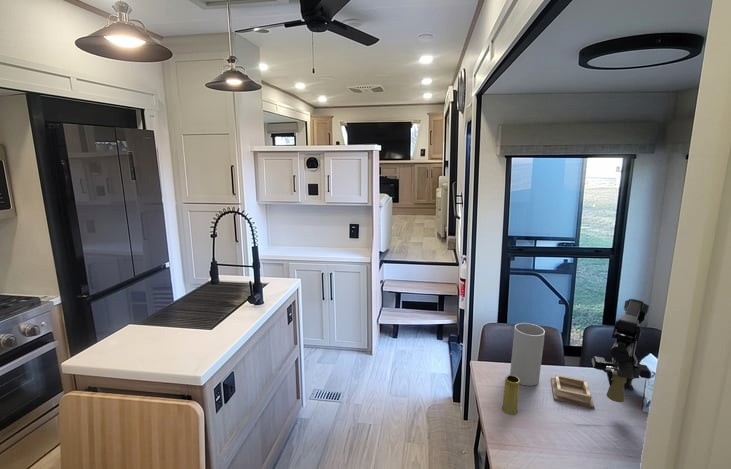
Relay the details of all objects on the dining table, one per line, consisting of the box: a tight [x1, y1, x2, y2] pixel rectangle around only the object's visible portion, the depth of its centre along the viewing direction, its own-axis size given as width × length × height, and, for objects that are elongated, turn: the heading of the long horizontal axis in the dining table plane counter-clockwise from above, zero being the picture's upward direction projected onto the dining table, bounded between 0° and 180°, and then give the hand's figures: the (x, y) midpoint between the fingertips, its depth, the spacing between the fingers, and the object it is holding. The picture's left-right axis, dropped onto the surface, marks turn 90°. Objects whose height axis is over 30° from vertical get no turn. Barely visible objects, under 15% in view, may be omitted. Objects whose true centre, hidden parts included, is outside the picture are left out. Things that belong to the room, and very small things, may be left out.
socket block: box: [550, 373, 595, 410], centre depth 164 cm, size 16×15×4 cm
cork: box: [606, 370, 627, 403], centre depth 150 cm, size 6×6×11 cm
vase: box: [501, 374, 520, 416], centre depth 152 cm, size 6×6×14 cm
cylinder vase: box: [509, 322, 546, 387], centre depth 172 cm, size 12×12×25 cm
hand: (617, 386), depth 150 cm, fingers closed on cork, 5 cm apart
